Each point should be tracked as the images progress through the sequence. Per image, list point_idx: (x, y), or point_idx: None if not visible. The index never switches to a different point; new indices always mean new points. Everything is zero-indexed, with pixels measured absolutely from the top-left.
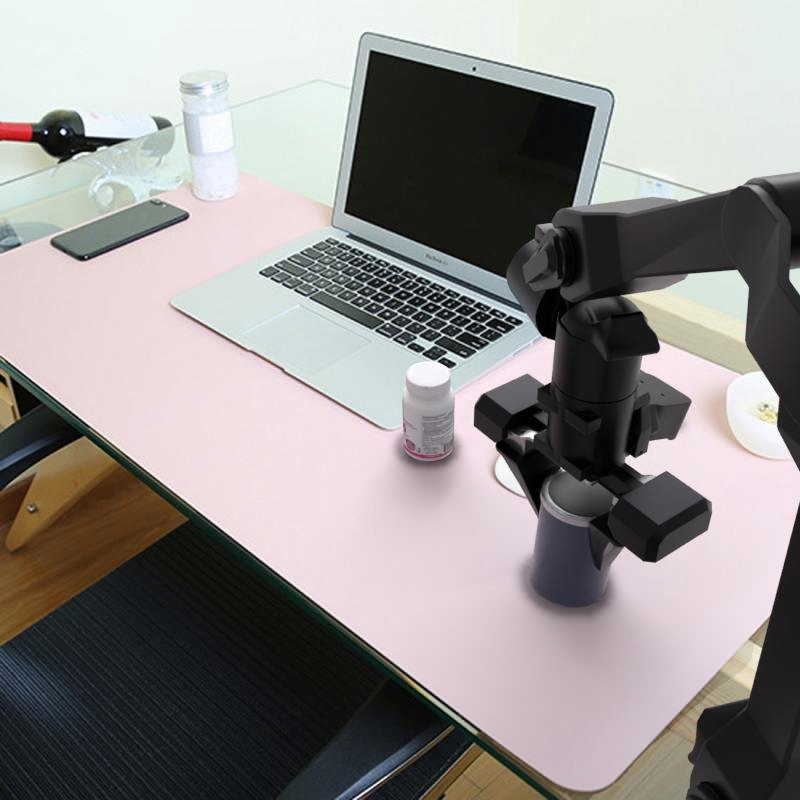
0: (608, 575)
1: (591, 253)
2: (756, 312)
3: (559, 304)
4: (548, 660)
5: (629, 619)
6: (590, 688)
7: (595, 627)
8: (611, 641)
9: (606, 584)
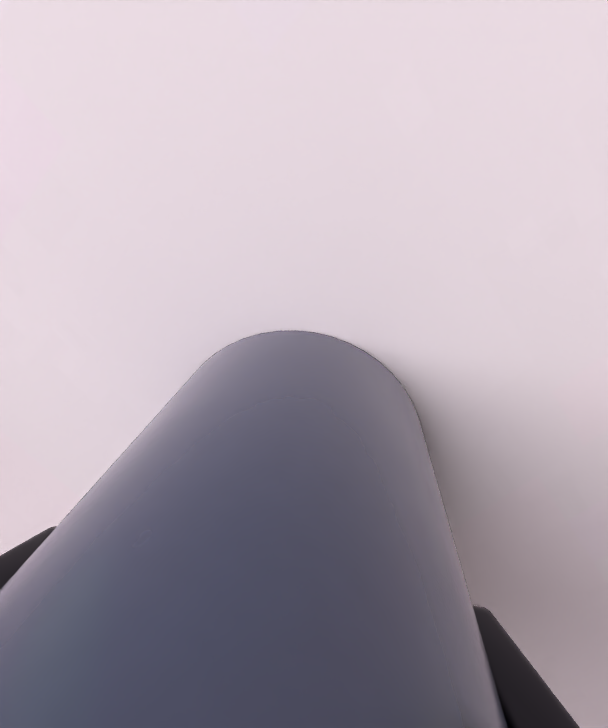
0: (426, 447)
1: None
2: None
3: None
4: None
5: (545, 452)
6: (563, 672)
7: (471, 533)
8: (537, 544)
9: (422, 431)
